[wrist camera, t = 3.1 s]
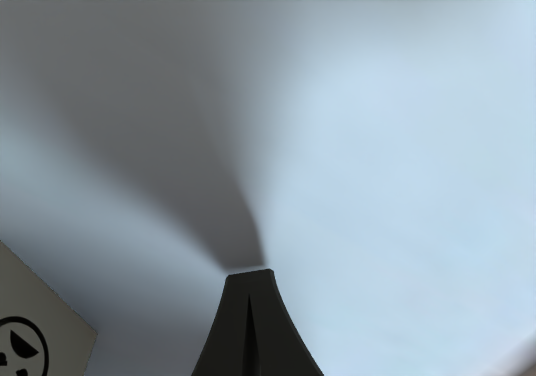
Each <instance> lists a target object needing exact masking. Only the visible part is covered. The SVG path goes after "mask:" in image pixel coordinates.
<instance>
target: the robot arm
mask: <svg viewBox="0 0 536 376" xmlns="http://www.w3.org/2000/svg"><path fill="white" fill-rule="evenodd" d="M191 376H324V374H323V373H322V371H321V370H320V368H319V367H318V365H317V364H316V362H315V361H314V359H313V357H312V356H311V354H310V352H309V351H308V349H307V347H306V346H305V344H304V342H303V340H302V339H301V337H300V335H299V333H298V331H297V329H296V328H295V326H294V324H293V322H292V320H291V318H290V316H289V314H288V312H287V309H286V307H285V305H284V303H283V300H282V298H281V295H280V293H279V290H278V287H277V284H276V280H275V276H274V271H273V270H271V269H264V270H258V271H251V272H245V273H239V274H232V275H229V276H228V277H227V278H226V280H225V285H224V289H223V293H222V297H221V300H220V304H219V307H218V310H217V313H216V316H215V319H214V322H213V324H212V327H211V330H210V332H209V335H208V338H207V341H206V343H205V345H204V348H203V350H202V352H201V355H200V357H199V359H198V362H197V364H196V366H195V369H194V371H193V373H192V375H191Z"/></svg>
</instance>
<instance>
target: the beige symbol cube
mask: <svg viewBox="0 0 536 376" xmlns="http://www.w3.org/2000/svg"><path fill="white" fill-rule="evenodd" d="M96 336H97V333H96V332H95V331H94V330H93V329H92V328H91V327H90V326H89V325H88V324H87V323H86V322H85V321H84V320H83V319H82V318H81V317H80V316H79V315H78V314H77V313H76V312H74V311H73V310H72V309H71V308H70V307H69V306H68V305H67V304H66V303H65V302H64V301H63V300H62V299H61V298H60V297H59V296H58V295H57V294H56V293H55V292H54V291H53V290H52V289H51V288H49V287H48V286H47V285H46V284H45V283H44V282H43V281H42V280H41V279H40V278H39V277H38V276H37V275H36V274H35V273H34V272H33V271H32V270H31V269H30V268H29V267H28V266H27V265H25V264H24V263H23V262H22V261H21V260H20V259H19V258H18V257H17V256H16V255H15V254H14V253H13V252H12V251H11V250H10V249H9V248H8V247H7V246H6V245H5V244H4V243H3V242H2V241H0V376H83V375H84V372H85V369H86V366H87V363H88V360H89V357H90V354H91V351H92V348H93V345H94V342H95V339H96Z"/></svg>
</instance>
